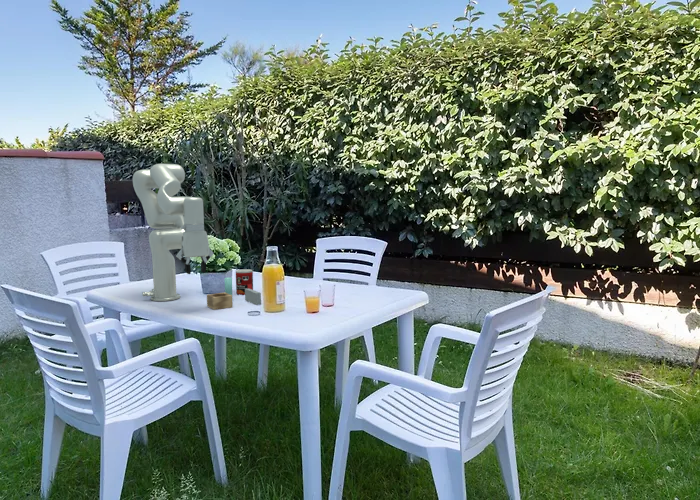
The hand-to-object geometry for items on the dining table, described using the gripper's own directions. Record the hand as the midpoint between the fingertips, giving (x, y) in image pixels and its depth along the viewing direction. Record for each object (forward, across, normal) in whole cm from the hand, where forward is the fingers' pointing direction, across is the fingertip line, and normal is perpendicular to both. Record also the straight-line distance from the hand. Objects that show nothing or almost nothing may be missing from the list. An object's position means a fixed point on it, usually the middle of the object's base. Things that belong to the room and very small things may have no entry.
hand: (196, 272), depth 198 cm
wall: (+15, +24, 0) cm, 29 cm away
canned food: (+16, +30, +20) cm, 39 cm away
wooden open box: (+15, +10, 0) cm, 18 cm away
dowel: (+15, +18, +10) cm, 25 cm away
